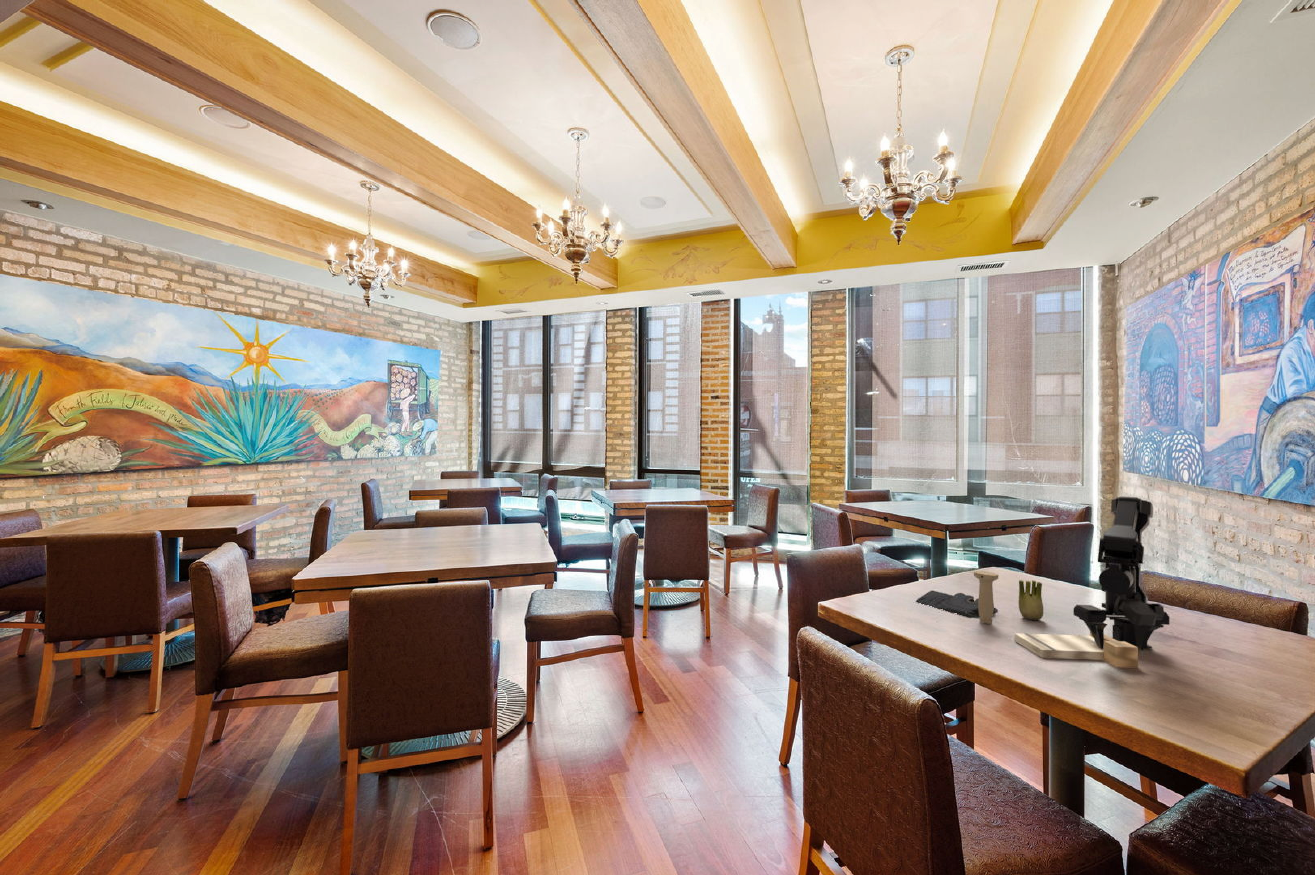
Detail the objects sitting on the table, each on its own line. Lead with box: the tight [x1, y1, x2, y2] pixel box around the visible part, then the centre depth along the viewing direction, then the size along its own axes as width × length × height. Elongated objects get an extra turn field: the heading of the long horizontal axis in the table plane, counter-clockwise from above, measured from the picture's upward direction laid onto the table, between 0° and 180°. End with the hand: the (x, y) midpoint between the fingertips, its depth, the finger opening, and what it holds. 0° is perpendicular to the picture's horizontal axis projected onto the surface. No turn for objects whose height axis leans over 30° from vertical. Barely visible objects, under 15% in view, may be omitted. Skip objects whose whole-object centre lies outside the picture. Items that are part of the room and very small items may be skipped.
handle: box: [973, 570, 999, 625], centre depth 165 cm, size 5×6×15 cm
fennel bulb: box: [1018, 579, 1044, 621], centre depth 168 cm, size 6×5×12 cm
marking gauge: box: [1089, 631, 1139, 669], centre depth 137 cm, size 5×11×5 cm, turn 176°
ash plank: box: [1014, 632, 1104, 661], centre depth 143 cm, size 20×12×2 cm, turn 86°
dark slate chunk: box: [915, 590, 999, 619], centre depth 181 cm, size 15×22×5 cm
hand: (1120, 649), depth 134 cm, fingers open, 9 cm apart
